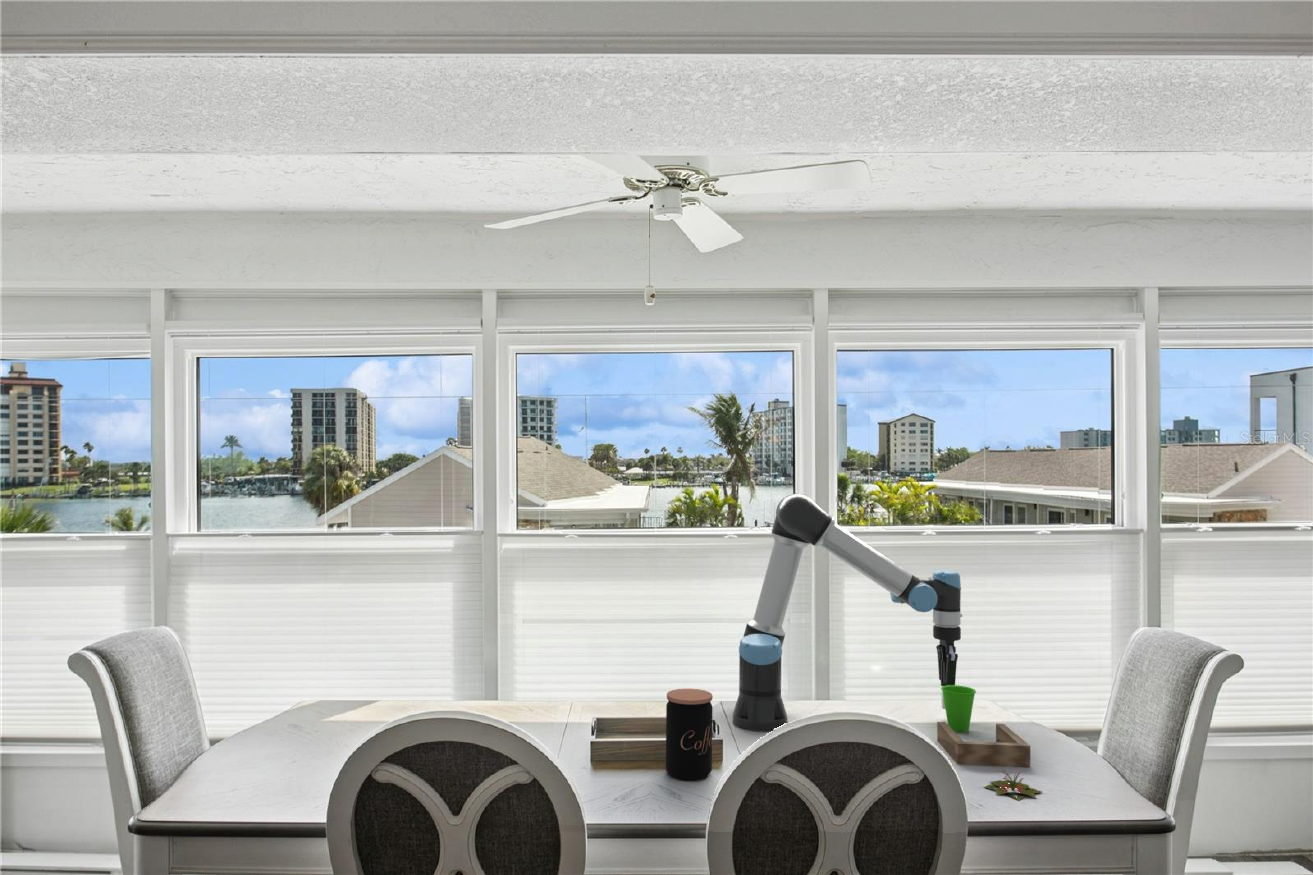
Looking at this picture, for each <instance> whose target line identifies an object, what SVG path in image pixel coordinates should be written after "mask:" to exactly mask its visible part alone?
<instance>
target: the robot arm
mask: <svg viewBox="0 0 1313 875" xmlns="http://www.w3.org/2000/svg"><path fill="white" fill-rule="evenodd" d="M771 536H772V537H773V539H774V541H773V545H772V549H771V551H770V552H771V553H770V557H769V561H768V564H767V567H766V568H767V569H766V572H765V575H764V578H763V583H762V586H761V591H760V593H759V597H758V601H757V605H756V608H755V613H754V615H753V618H752V619H751V620H749V621H746V622H747V623H746V626H745V630H744V634H743V637H742V638H741V639H740V641H739V645H738V655H739V656H738V657H739V667H738V669H739V670H738V672H739V673H738V674H739V675H738V678H739V681H738V683H739V684H738V690H739V692H738V697H737V700H736V702H735V706H734V708H733V712H732V723H733V725H735V726H737V727H738V728H742V729H744V730H750V731H757V732H758V731H761V732H762V731H763V732H768V731H769V732H770V731H771V730H772V731H774V730H773V729H774V728H777V727H779V726H781V725H783V724H784V723H787V724H788V714H787V711H786V710H787V709H786V708H785V704H784V702H783V701H784V700H783V699H782V698H783V697H782V655H783V644H784V641H785V636H786V632H785V631H784V629H783V624H784V621H785V617H786V612H787V609H788V605H789V602H790V598H791V594H792V591H793V586H794V583H795V579H796V577H797V572H798V569H799V564H800V561H801V557H802V554H803V550H804V548H806V547H808V546H809V545H812V546H814V547H819V546H820V547H821V548H822V549H825V550H826V551H828V552H830V554H832V555H834V557H836V558H838V559H839V560H841V561H843V562H844V563H846V564H847V565H849V566H850V567H851V568H853V569H854V570H856V571H857V572H858V573H861V574H862V575H864V576H865V577H867V579H868V580H869V579H870V580H871V581H873V582H874V583H875V584H877V585H878V586H880V587H882V588H883V589H885V590H886V591H888V592H889V594H890V599H891V601H892V602H893V603H894V604H907V605H908V606H910V607H911V609H913V610H915V612H920V613H928V612H930V611H932V622H933V624H934V625H933V626H932V636H933V638H934V640H939V644H937V645H936V646H935V648H936V653H937V665H938V667H937V668H938V679H939V681H940V687H943V686H947V685H956V679H957V677H956V674H957V663H958V657H959V654H958V653H957V652H956V650H957V648H956V646H955V642H956V641H957V642H959V641H960V640H961V637H962V633H961V631H962V629H961V626H960V625H961V618H962V617H963V614H962V613H961V597H962V596H961V591H962V586H961V585H962V584H961V575H960V573H958V572H957V571H953V570H934V571H933V573H932V576H931V577H917V576H915V575H914V574H912V573H910V572H909V571H907V570H906V569H905V568H903V567H901V566H900V565H899V564H897V563H896V562H894V561H893V560H892V559H890V558H888V557H886V556H885V555H883V553H881V552H879V551H878V550H876V549H875V548H874V547H872V546H870V545H869V544H867V543H866V542H864V541H862V540H861V539H860V538H859V537H856V536H855V535H854V534H853V533H851V532H849V531H848V530H847V529H845V528H843V527H842V526H840V525H839V524H837V523H836V522H835V518H834V517H833V516H832V515H830V514H829V513H827V512H826V511H825V510H823V508H822V507H820V505H818V504H817V503H816V502H815V501H814V500H813V499H812V498H811V497H809V496H807V495H804V494H802V493H801V494H800V493H791V494H788V495H786V496H785V497H783V498H782V499H781V500H780V501H779V502H778V504H777V506H776V510H775V518H774V522H773V526H772V529H771ZM940 690H941V691H940V692H941V694H940V695H941V697H940V698H941V703H940V704H941V706H940V707H941V708H942V709H944V710H946V709H945V703H944V696H943V690H942V689H941V688H940Z"/></svg>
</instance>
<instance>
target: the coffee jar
mask: <svg viewBox="0 0 1313 875" xmlns="http://www.w3.org/2000/svg"><path fill="white" fill-rule="evenodd" d="M666 699H667V700H668V702H667V703H666V705H665V706H666V707H665V711H666V712H665V713H666V714H665V717H666V718H665V770H666V772H667V774H668V776H669V777H670V778H673V779H675V780H679V781H685V782H696V781H701V780H702V781H703V780H704V779H707V778H708V777H709V776H710V774H711V773H712V770H713V705H712V702H711V701H712V700H713V693H711V692H710V691H707V690H704V689H699V688H678V689H672V690H669V691H668V692H666Z"/></svg>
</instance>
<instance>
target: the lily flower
mask: <svg viewBox="0 0 1313 875" xmlns="http://www.w3.org/2000/svg"><path fill="white" fill-rule="evenodd" d="M1003 770H1004V771H1003ZM1003 770H1002V771H1001V773H1003V774H1004V777H1002V778H1003V780H999V779H997V780H994V781H993V780H992V781H991V783H992V784H987V785H985V786H984V788H985V789H990V790H994V791H995V792H996V795H995V796H999V795H1003V794H1006V795H1008V796H1010V797H1012V798H1014V799H1016V800H1017V801H1018V802H1019V801H1020V800H1021V799H1022V798H1024V797H1025V795H1027V796H1030V797H1031V798H1034V799H1037V797H1036V795H1035V794H1037V793H1042V791H1041V790H1038V789H1036V788H1033V787H1030V785H1029V784H1025V783H1023V782H1022V781H1024V778H1023V777H1022V778H1021V779H1019V780H1018V781H1017V779H1018V778H1019V777H1020V774H1021V772H1018V773H1017V770H1015V773H1014V775H1013V776H1012V777H1011V775H1009V772H1007V771H1006V769H1003ZM1010 772H1011V773H1012V770H1010ZM1008 783H1010V784H1008ZM1000 787H1001V788H1000ZM1005 787H1007V789H1006V788H1005ZM1009 788H1011V789H1010V790H1011V791H1009V790H1008V789H1009ZM1015 788H1017V789H1018V790H1017V789H1015ZM1015 790H1017V792H1016V791H1015ZM1019 792H1020V793H1019ZM1012 793H1015V794H1017V793H1019V794H1020V795H1019V794H1018V795H1016V796H1015V795H1013V794H1012ZM1016 797H1017V798H1016Z"/></svg>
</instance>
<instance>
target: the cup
mask: <svg viewBox="0 0 1313 875" xmlns="http://www.w3.org/2000/svg"><path fill="white" fill-rule="evenodd" d="M940 687H941V686H940ZM941 689H942V690H943V696H944V703H945V709H944V710H945V713H946V714H945V715H946V719H947V722H946V723H947V724H948V725H949V726H950V728H951V729H952V730H953V731H954V732H955V733H959V734H960V733H961V734H964V733H965V732H966V733H968V732H969V730H970V724H971V718H972V713H973V706H974V699H975V694H976V693H977V690H976V689H975V688H972V687H969V686H965V685H956V684H955V685H947V686H943V687H941V688H940V690H941Z"/></svg>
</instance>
